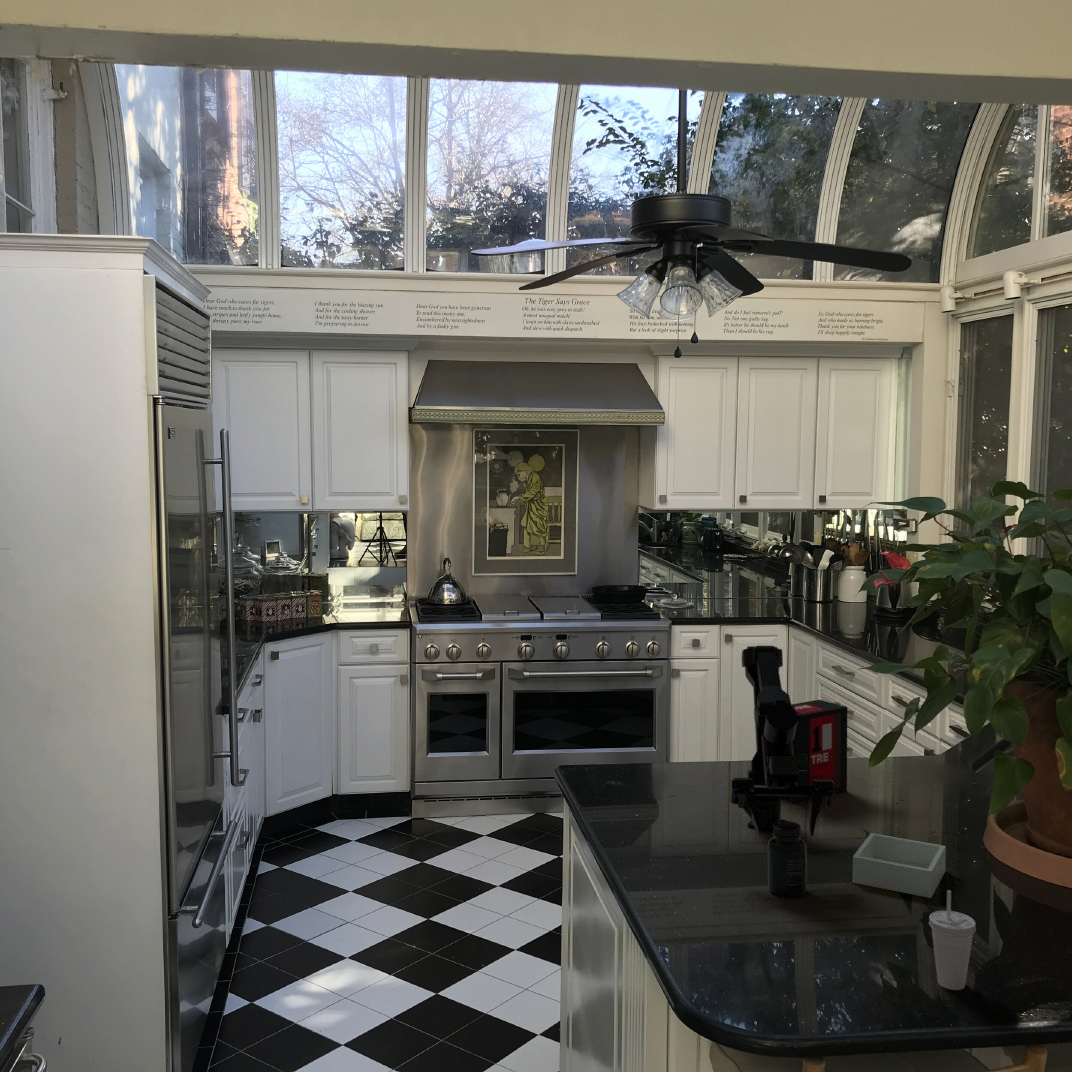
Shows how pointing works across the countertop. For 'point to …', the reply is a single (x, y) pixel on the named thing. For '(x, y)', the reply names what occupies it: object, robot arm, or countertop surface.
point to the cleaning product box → (821, 744)
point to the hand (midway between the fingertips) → (786, 834)
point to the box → (899, 865)
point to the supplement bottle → (787, 860)
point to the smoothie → (952, 945)
